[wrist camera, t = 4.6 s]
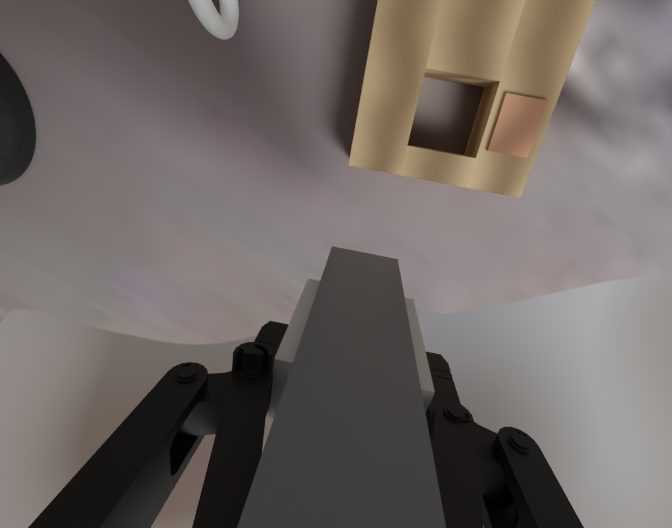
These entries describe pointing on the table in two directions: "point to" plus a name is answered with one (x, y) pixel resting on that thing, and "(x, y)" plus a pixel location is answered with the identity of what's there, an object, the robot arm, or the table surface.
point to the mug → (217, 16)
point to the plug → (350, 414)
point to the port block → (472, 69)
